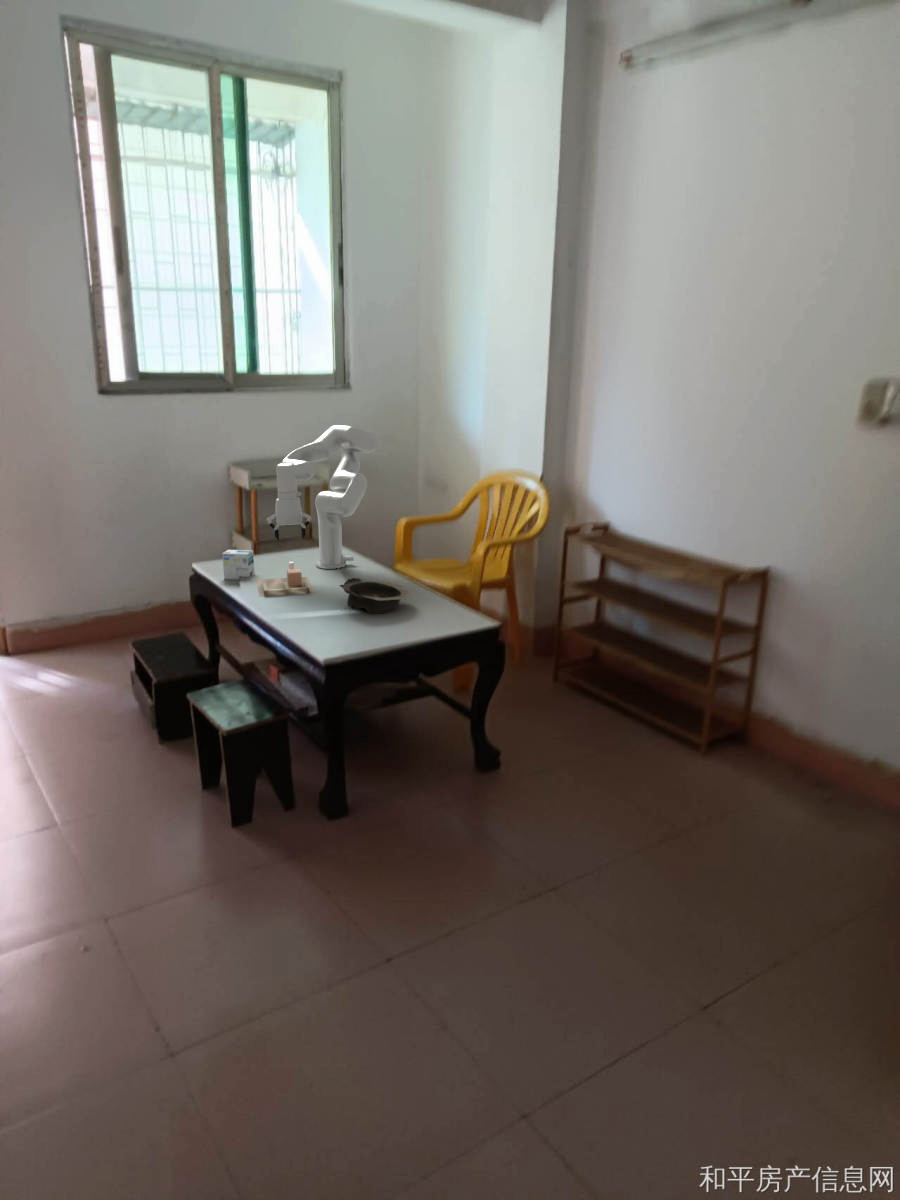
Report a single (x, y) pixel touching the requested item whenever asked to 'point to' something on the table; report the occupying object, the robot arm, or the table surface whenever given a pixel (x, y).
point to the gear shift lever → (293, 575)
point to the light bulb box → (238, 563)
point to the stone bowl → (373, 595)
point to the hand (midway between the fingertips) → (290, 538)
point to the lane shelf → (282, 587)
